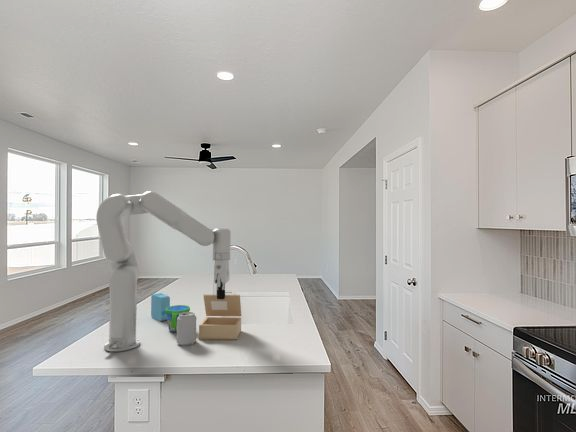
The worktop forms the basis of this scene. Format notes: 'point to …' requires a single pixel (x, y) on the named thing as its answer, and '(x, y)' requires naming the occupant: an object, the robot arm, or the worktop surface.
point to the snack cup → (175, 315)
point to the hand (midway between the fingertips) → (220, 298)
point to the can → (186, 328)
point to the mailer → (220, 328)
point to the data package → (159, 306)
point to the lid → (222, 305)
